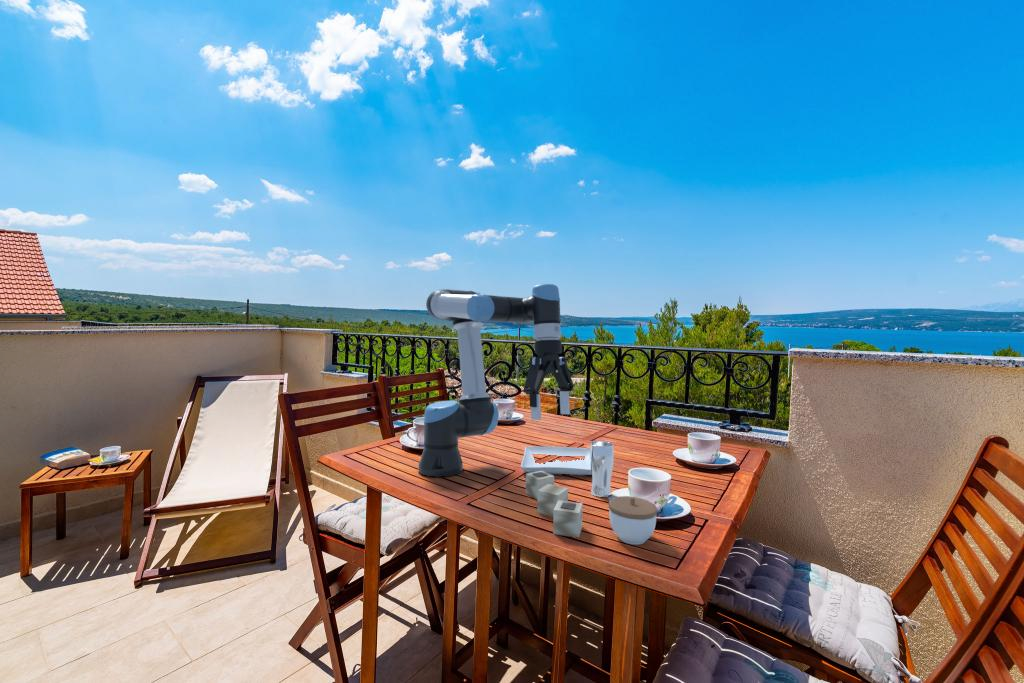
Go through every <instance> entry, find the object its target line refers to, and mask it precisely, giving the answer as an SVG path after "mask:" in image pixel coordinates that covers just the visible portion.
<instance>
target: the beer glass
mask: <svg viewBox="0 0 1024 683" xmlns="http://www.w3.org/2000/svg"><path fill="white" fill-rule="evenodd" d="M589 448H590V467H591V473H592V475H591V482H592V483H591V490H590V495H591V496H593V495H594V496H593V497H596V496H597V497H596V498H600V497H607V496H608V495H609V494H610V493H612V487H611V480H612V474H613V469H614V461H615V460H614V458H615V457H614V456H615V455H614V452H615V451H614V443H612V442H610V441H605V440H593V441H591V442H590V447H589ZM607 498H608V497H607Z"/></svg>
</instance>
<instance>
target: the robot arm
mask: <svg viewBox="0 0 1024 683" xmlns="http://www.w3.org/2000/svg"><path fill="white" fill-rule="evenodd" d="M559 290H560V289H559V287H558V286H557V285H555V284H552V283H543V284H542V283H541V284H540V283H539V284H537V285H534V286H533V287H532V291H531V296H528V297H514V296H502V295H500V296H499V295H492V294H485V293H484V294H482V293H480V292H478V291H473V290H460V289H448V288H442V289H437V290H435V291H432V292H431V293H430V294H429V295H428V297H427V299H426V302H425V303H426V304H425V307H426V309H427V310H426V311H427V312H428V314H429V315H430V316H431V317H433V318H435V319H437V320H441V321H445V322H446V321H447V322H449V321H450V322H452V327H453V329H454V330H456V331H457V344H458V354H459V366H460V377H461V389H462V394H461V397H460V398H459V399H458V401H457V400H442V401H436V402H432V403H430V404H427V406H426V407H425V410H424V417H423V423H424V424H423V451H422V454H421V457H420V461H419V462H418V470H419V471H418V473H419V472H420V473H421V474H420V473H419V474H420V475H422V474H424V475H427V476H426V477H429V476H435V477H434V478H442V477H441V476H447V477H451V476H450V475H453V476H456V475H458V473H459V474H460V473H462V472H463V470H464V462H463V460H462V455H461V453H460V449H459V439H460V438H467V437H468V438H469V437H475V436H483V435H487V434H491V433H492V432H494V430H495V429H496V427H497V425H498V422H499V409H498V406H497V404H496V403H495V402H494V401H492V399H491V398H492V397H491V395H489V394H488V393H487V392H486V391H487V390H486V378H485V370H484V369H485V368H484V356H483V346H482V335H481V334H482V332H481V329H482V328H483V326H484V325H485V323H486V322H488V323H509V324H510V323H511V324H513V325H518V326H519V325H523V326H524V325H526V324H530V323H533V339H534V340H535V342H534V353H535V355H537V356H533V357H530V359H529V368H528V371H527V375H526V380H525V382H524V386H523V392H524V393H525V395H528V396H529V406H530V419H531V420H532V421H533V420H534V421H540V420H542V409H541V394H539V392H540V389H541V387H542V385H543V383H544V381H545V378H546V377H547V375H548V374H551V375H553V377H554V378H553V379H555V381H556V383H557V385H558V386H559V389H560V390H561V391H559V405H560V406H559V409H560V415H570V414H571V412H570V411H571V410H570V408H571V407H570V392H572V391H573V389H574V388H575V386H574V383H573V382H574V381H573V380H572V376H571V374H570V370H569V368H568V364H567V358H566V356H560V354H562V353H563V344H562V341H561V338H562V330H561V323H562V322H561V302H560V301H561V299H560V298H561V297H560V291H559ZM461 471H462V472H461ZM455 474H456V475H455ZM424 475H423V476H424Z"/></svg>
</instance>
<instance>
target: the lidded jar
mask: <svg viewBox="0 0 1024 683" xmlns="http://www.w3.org/2000/svg"><path fill="white" fill-rule="evenodd" d="M608 512H609V513H608V516H609V517H608V518H609V523H610V526H611V528H612V530H613V532H614V533H615V535H616V536H617V537H618V539H619V541H622V543H625V544H629V545H635V546H639V545H643V544H645V543H646V542H647V541H648V540H649V539H650V538H651V537H652V535H653V534H654V531H655V528H656V524H657V513H658V508H657V506H656V504H655V503H653V502H651V501H649V500H647V499H644V498H641V497H637V496H630V495H629V496H627V495H625V496H624V495H623V496H622V495H621V496H616V497H613V498H611V499H610V500H609V501H608Z"/></svg>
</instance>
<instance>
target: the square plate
mask: <svg viewBox="0 0 1024 683" xmlns="http://www.w3.org/2000/svg"><path fill="white" fill-rule="evenodd" d="M532 454H546V455H557V456H585V459H584V460H583V459H582V460H581V458H580V460H578V459H577V460H576V461H575V460H572V461H567V462H566V461H565V462H564V461H563V462H561V461H559V460H556V461H555V462H554V461H553V462H546V463H545V464H543V463H541V464H539V463H535V460H534V457H533V455H532ZM520 468H521V469H522V470H523V471H524V472H525V473H532V472H537V471H544V472H546V473H548V474H551V475H562V474H570V475H569V476H587V475H588V476H592V473H591V467H590V447H589V448H588V447H586V448H585V447H572V446H569V447H568V446H525V447H524V453H523V457H522V460H521V463H520Z"/></svg>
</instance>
